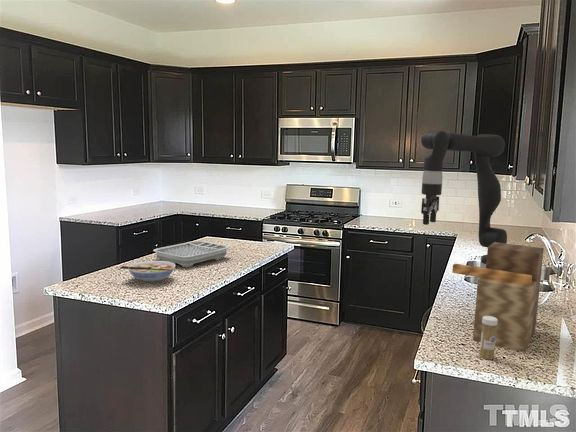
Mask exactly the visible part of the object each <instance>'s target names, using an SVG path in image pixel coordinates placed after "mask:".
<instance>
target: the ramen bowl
mask: <svg viewBox="0 0 576 432" xmlns="http://www.w3.org/2000/svg"><path fill="white" fill-rule="evenodd" d="M176 266H177V265H176V263H175V264H174V263H171V262H167V261H162V260H147V261H140V262H134V263H132V264H129V265H128V266H126V265H125V266H124V265H122V266H119V269H122V270H128V271H129V272H130V274H131V275H132V277H133V278H134V279H137V280H139V281H142V282H145V283H148V284H149V283H150V284H151V283H158V282H161V281H163V280H164V279H167V278H168V277H170V276H171V274H172V273H173V272H174V269H175V268H176Z"/></svg>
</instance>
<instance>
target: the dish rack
mask: <svg viewBox="0 0 576 432" xmlns="http://www.w3.org/2000/svg"><path fill="white" fill-rule="evenodd" d="M228 249H230V246H229V245H227V244H222V243H217V242H216V243H215V242H211V241H205V240H193V241H187V242H183V243H177V244H173V245H167V246H162V247H158V248H155V249H153V252H155V253H156V256H155V257H156V259H159V261H167V262H171V263H174V264H175V265H176V264H178V265H181V267H182V268H190V267H193V266H194V264H198V263H202V262H205V261H209V260H215V261H220V260H222V257H224V256H226V255H227V250H228ZM219 259H220V260H219Z"/></svg>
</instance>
